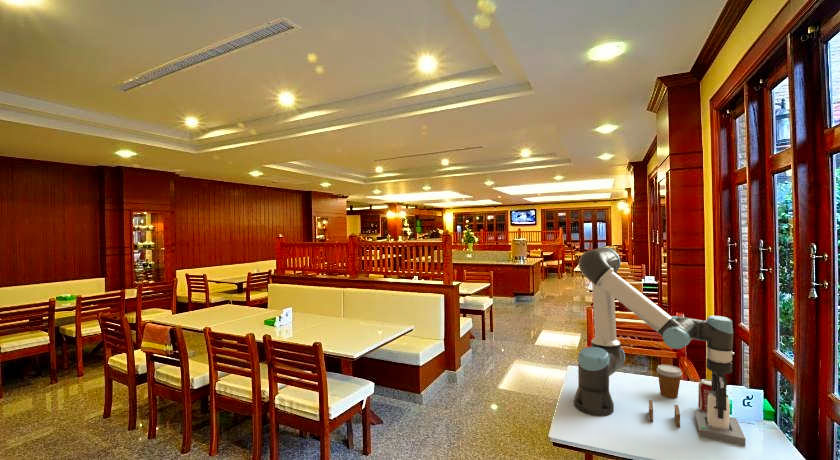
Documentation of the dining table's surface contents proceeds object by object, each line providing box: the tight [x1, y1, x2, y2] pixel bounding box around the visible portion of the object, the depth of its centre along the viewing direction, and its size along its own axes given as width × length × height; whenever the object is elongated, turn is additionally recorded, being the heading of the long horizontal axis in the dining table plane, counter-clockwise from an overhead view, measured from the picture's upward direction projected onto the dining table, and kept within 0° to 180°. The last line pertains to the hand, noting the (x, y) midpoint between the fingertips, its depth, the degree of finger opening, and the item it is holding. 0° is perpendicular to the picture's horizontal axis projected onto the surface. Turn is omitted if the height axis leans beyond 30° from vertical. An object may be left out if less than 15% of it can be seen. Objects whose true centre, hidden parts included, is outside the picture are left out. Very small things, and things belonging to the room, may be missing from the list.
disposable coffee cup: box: [656, 364, 683, 400], centre depth 175 cm, size 10×10×12 cm
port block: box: [693, 410, 746, 447], centre depth 147 cm, size 13×15×3 cm
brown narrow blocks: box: [648, 399, 681, 429], centre depth 155 cm, size 10×8×5 cm
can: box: [707, 391, 731, 430], centre depth 147 cm, size 6×6×12 cm
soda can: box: [697, 378, 712, 413], centre depth 161 cm, size 7×7×12 cm
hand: (718, 421), depth 147 cm, fingers closed on can, 6 cm apart
